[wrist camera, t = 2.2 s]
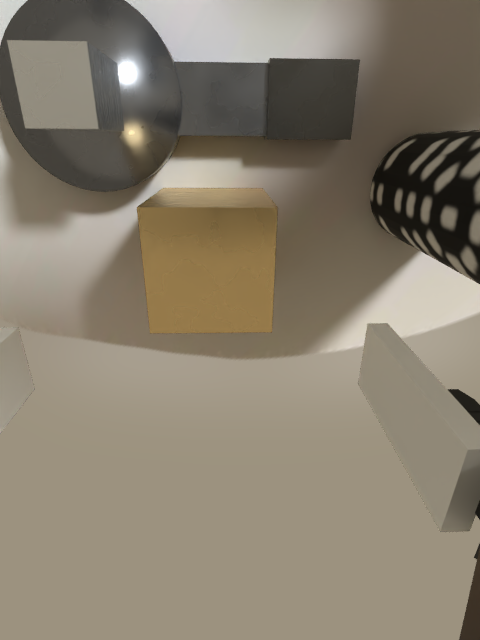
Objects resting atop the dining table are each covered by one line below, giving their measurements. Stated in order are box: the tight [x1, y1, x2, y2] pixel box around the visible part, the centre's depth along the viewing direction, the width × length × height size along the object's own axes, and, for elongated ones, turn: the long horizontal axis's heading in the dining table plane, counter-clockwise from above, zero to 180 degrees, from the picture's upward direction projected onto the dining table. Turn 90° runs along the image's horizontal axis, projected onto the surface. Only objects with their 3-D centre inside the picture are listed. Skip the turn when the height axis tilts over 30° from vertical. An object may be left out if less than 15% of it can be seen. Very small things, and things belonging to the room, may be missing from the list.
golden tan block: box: [137, 188, 278, 333], centre depth 28 cm, size 8×8×10 cm
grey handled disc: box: [0, 0, 360, 192], centre depth 24 cm, size 24×12×8 cm, turn 90°
